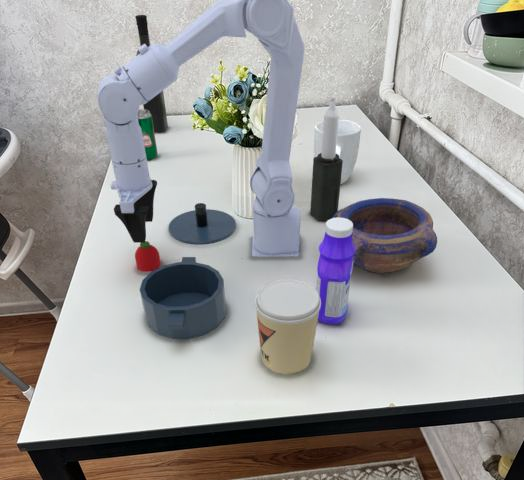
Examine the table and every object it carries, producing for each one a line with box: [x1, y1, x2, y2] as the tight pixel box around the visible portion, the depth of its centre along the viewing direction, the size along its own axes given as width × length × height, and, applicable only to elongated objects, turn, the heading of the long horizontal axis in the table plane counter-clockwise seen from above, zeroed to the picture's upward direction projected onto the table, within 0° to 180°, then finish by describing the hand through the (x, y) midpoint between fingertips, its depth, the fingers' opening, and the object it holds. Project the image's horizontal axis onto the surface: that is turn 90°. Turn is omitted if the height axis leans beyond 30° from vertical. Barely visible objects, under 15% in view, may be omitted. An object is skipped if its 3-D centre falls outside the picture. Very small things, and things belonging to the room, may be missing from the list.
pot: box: [139, 256, 227, 340], centre depth 83 cm, size 14×19×6 cm
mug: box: [313, 118, 362, 185], centre depth 119 cm, size 15×11×13 cm
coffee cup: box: [254, 278, 321, 375], centre depth 73 cm, size 9×9×12 cm
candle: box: [309, 95, 343, 223], centre depth 103 cm, size 5×5×25 cm
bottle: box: [315, 217, 355, 325], centre depth 79 cm, size 7×6×17 cm
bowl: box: [332, 197, 438, 274], centre depth 94 cm, size 18×18×10 cm
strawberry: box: [134, 240, 162, 273], centre depth 94 cm, size 5×5×5 cm
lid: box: [168, 202, 237, 245], centre depth 105 cm, size 15×15×6 cm
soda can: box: [137, 108, 158, 161], centre depth 133 cm, size 5×5×12 cm
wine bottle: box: [135, 14, 169, 134], centre depth 143 cm, size 6×6×30 cm
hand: (143, 230), depth 91 cm, fingers open, 7 cm apart
